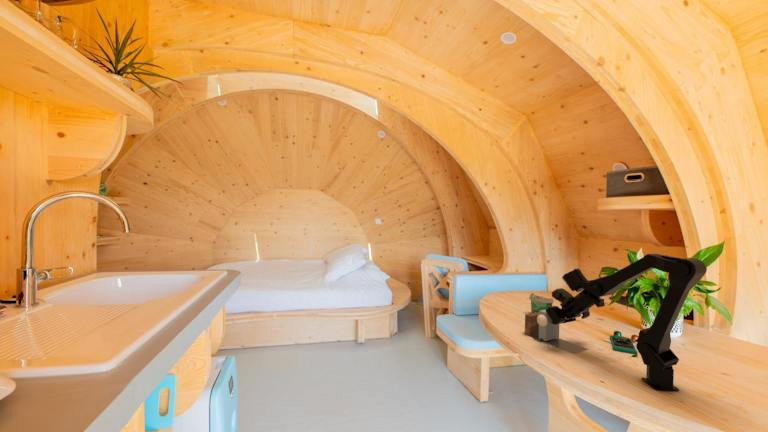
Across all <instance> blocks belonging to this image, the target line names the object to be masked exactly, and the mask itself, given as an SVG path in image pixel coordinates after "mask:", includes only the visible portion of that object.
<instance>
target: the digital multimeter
mask: <svg viewBox="0 0 768 432" xmlns="http://www.w3.org/2000/svg"><path fill="white" fill-rule="evenodd" d="M609 341H610V343H611V346H612V347H611V349H612V351H615V352H619V353H624V354H628V355H629V354H630V355H631V356H630V357H632V358H638V350H637V348H636V346H635V345H634V343H633V339H632V338H630V337H627V336H621V335H609Z"/></svg>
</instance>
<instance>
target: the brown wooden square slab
mask: <svg viewBox="0 0 768 432" xmlns="http://www.w3.org/2000/svg"><path fill="white" fill-rule="evenodd" d="M538 315H539V312H536V313H532V312H531V313H526V314H524V333H525V334H526V335H525V336H527V335H529V336H532V335H536V334H539V324H538V322H537V317H538ZM529 336H528V337H529Z"/></svg>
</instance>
